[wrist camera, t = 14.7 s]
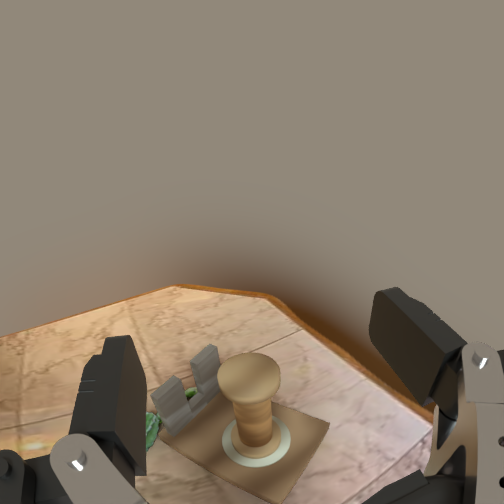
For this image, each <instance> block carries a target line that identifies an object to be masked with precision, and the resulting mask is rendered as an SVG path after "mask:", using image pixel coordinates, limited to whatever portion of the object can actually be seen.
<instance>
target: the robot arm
mask: <svg viewBox="0 0 504 504" xmlns="http://www.w3.org/2000/svg"><path fill="white" fill-rule="evenodd" d="M369 335H370V339H371V342H372V344H373V345H374V346H375V347H376V349H377V350H378V351H379V353H380V354H381V355H382V356H383V358H384V359H385V360H386V361H387V363H388V364H389V365H390V366H391V368H392V369H393V370H394V371H395V373H396V374H397V375H398V377H399V378H400V379H401V380H402V382H403V383H404V384H405V386H406V387H407V388H408V389H409V391H410V392H411V393H412V395H413V396H414V397H415V399H416V400H417V401H418V403H419V404H420V405H421V406H422V407H423V406H425V405H427V404H429V403H431V402H433V401H434V402H435V403H436V404H437V405H436V407H435V410H434V421H433V435H432V446H431V455H430V459H429V462H428V464H427V466H426V469H425V471H424V474H422V472H421V470H420V469H419V470H417V471H416V472H414V473H412V474H410V475H408V476H406V477H404V478H402V479H400V480H398V481H396V482H394V483H392V484H389V485H387V486H385V487H384V488H382V489H381V490H380V491H378V492H377V493H376V494H374V495H373V496H372V497H370V498H369V499H368V500H366V501H365V502H363V503H362V504H504V350H500V351H496V350H495V349H494V348H492V347H491V346H489V345H487V344H485V343H482V342H471V343H469V344H468V343H467V342H466V341H465V340H463V339H462V338H461V337H460V336H459V335H458V334H457V333H456V332H455V331H454V330H453V329H451V327H449V326H448V325H447V324H446V323H445V322H444V321H442V320H440V318H439V317H438V316H437V315H436V314H435V313H434V314H433V312H432V310H430V309H429V308H428V307H427V306H426V305H424V303H422V302H419V301H417V300H415V299H413V298H411V297H409V296H408V295H406V294H405V293H404V292H403V291H402V290H401V289H400V288H398V287H393V288H389V289H386V290H381V291H378V292H376V294H375V296H374V300H373V307H372V313H371V319H370V324H369ZM78 391H79V393H78V394H77V398H76V402H75V407H74V411H73V416H72V420H71V425H70V430H69V434H68V435H67V436H65V437H63V438H61V439H60V440H59V441H58V442H57V443H56V444H55V445H54V446H53V448H52V450H51V453H50V454H49V455H45V456H41V457H37V458H32V459H28V460H23V459H22V458H21V457H20V456H19V455H18V454H17V453H16V452H14V451H12V450H1V451H0V504H149V503H148V502H147V501H146V500H145V499H144V498H143V497H142V496H141V495H140V493H139V492H138V491H137V490H136V489H135V476H147V474H146V400H147V384H146V377H145V373H144V370H143V367H142V365H141V362H140V360H139V357H138V354H137V351H136V349H135V346H134V343H133V340H132V338H131V336H130V335H124V336H115V337H107V338H106V339H105V342H104V346H103V350H102V354H100V355H93V356H92V357H91V359H90V360H89V361H88V363H87V364H86V365H85V367H84V370H83V374H82V377H81V382H80V385H79V389H78Z"/></svg>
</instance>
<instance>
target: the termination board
mask: <svg viewBox="0 0 504 504" xmlns="http://www.w3.org/2000/svg"><path fill="white" fill-rule="evenodd" d="M190 364H191V368H192V372H193V375H194V379H195V383H196V386H197V390H198V393H197V394H195V395H194V396H193V397H192V398H191V399H190V400H189V401H188V400H187V397H186V394H185V391H184V388H183V385H182V382H181V379H179V378H177V377H176V376H174V375H173V376H172V377H171V378H170V379H169V380H167V381H166V382H165V383H164V384H163V385H162V386H160V387H159V388H158V389H157V390H156V391H155V392H153V393H152V394H151V395H150V396H151V398H152V400H153V403H154V405H155V407H156V409H157V411H158V414H159V416H160V418H161V420H162V422H163V424H164V427H165V428H164V429H163V430H161V431H160V432H159V433H158V436H159V437H160V439H161V440H162V441H163V442H165V443H166V444H168V445H169V446H170V447H172V448H173V449H175V450H176V451H178V452H179V453H181V454H182V455H184V456H186V457H187V458H189V459H190V460H192V461H193V462H195V463H197V464H198V465H200V466H202V467H203V468H205V469H207V470H208V471H210V472H212V473H213V474H215V475H217V476H219V477H220V478H222V479H224V480H226V481H228V482H229V483H231V484H233V485H235V486H237V487H239V488H241V489H243V490H245V491H247V492H249V493H251V494H253V495H255V496H257V497H259V498H261V499H263V500H265V501H267V502H269V503H272V504H282V502H283V501H284V499H285V498H286V497H287V495H288V494H289V492H290V491H291V489H292V488H293V486H294V485H295V483H296V482H297V480H298V479H299V477H300V476H301V474H302V473H303V471H304V469H305V468H306V466H307V465H308V463H309V461H310V460H311V458H312V457H313V455H314V453H315V452H316V450H317V448H318V447H319V445H320V443H321V441H322V440H323V438H324V436H325V434H326V433H327V431H328V429H329V425H330V423H328V422H325V421H322V420H319V419H317V418H314V417H311V416H308V415H305V414H303V413H300V412H297V411H295V410H292V409H289V408H287V407H284V406H282V405H279V404H277V403H274V402H272V401H271V410H272V420H274V421H275V422H276V423H277V424H278V426H279V427H280V430H281V442H280V445H279V447H278V449H277V450H276V451H275V452H274V453H273V454H271V455H269V456H267V457H264V458H260V459H251V458H247V457H244V456H242V455H240V454H239V453H238V452H237V451H236V450H235V449H234V447H233V444H232V441H231V431H232V428H233V427H234V425H235V424H236V418H235V413H234V408H233V402H232V401H230V400H228V399H227V398H226V397H225V396H224V395H223V394H222V393H221V391H220V388H219V384H218V379H217V374H218V370H219V368H220V361H219V355H218V350H217V346H214V345H212V344H209V345H208V346H207V347H205V348H204V349H203V350H202V351H201V352H200V353H199V354H197V355H196V356H195V357H194V358H193V359H192V360H191V361H190Z"/></svg>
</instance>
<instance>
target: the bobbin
mask: <svg viewBox="0 0 504 504" xmlns="http://www.w3.org/2000/svg"><path fill="white" fill-rule="evenodd" d="M217 379H218V384H219V388H220V391H221V393H222V394H223V395H224V396H225V397H226V398H227V399H228V400H230V401H232V402H233V408H234V413H235V418H236V424H235V425H234V427H233V428H232V431H231V441H232V444H233V447H234V449H235V450H236V451H237V452H238V453H239V454H240V455H242V456H244V457H247V458H251V459H260V458H264V457H267V456H269V455H271V454H273V453H274V452H275V451H276V450H277V449H278V447H279V445H280V442H281V430H280V427H279V426H278V424H277V423H276V422H275V421H274V420H272V410H271V397H272V396H274V395H275V393H276V392H277V391H278V389H279V387H280V368H279V366H278V364H277V363H276V362H275V361H274V360H273V359H272V358H270V357H269V356H266V355H263V354H260V353H242V354H238V355H235V356H233V357H231V358H229V359H227V360H226V361H225V362H224V363H223V364H222V365H221V366H220V368H219V370H218V374H217Z"/></svg>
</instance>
